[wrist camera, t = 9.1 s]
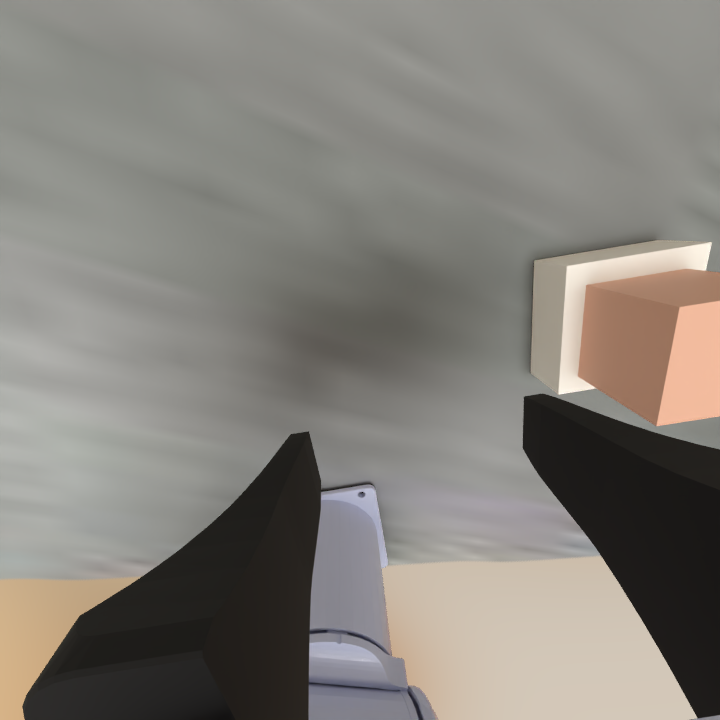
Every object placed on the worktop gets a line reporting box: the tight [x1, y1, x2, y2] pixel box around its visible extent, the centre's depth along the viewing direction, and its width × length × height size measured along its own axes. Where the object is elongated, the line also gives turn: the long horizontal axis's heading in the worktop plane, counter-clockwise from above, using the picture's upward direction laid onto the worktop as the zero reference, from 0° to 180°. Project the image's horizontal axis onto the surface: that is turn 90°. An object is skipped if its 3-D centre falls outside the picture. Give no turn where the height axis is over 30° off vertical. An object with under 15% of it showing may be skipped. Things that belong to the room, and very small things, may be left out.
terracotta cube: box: [578, 269, 720, 426], centre depth 15 cm, size 5×5×5 cm
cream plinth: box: [531, 240, 712, 394], centre depth 19 cm, size 7×7×3 cm
